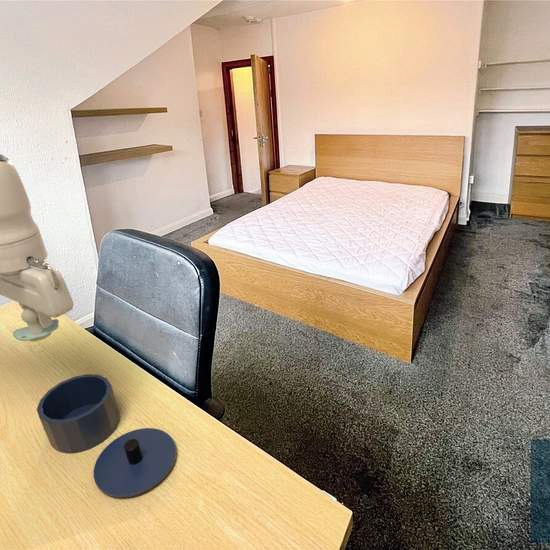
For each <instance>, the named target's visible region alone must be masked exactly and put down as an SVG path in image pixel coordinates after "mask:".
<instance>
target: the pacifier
mask: <svg viewBox="0 0 550 550" xmlns="http://www.w3.org/2000/svg"><path fill="white" fill-rule="evenodd" d="M20 318H21V320H22V321H23V323H26V324H27V326H24V327H20V328H17V329H15V330H14V331H13V332H12V336H13V338H15V339H16V340H19V341H23V342H28V341H29V342H39V341H42V340H44V339H47V338H49V337H50V336H51V334H52V333H53V332H54V331H56V330H57V329H58V328H59V327H60V326H59V325H60V324H59V323H60V321H59V319H57V318H54V319H52V321H53V324H52V325H51V326H49V327H47V328H43V327H41V326H39V324H38V322H37V318H38V313H37V312H36V311H35V309H32V308H28V309H26V310H23V311H22V312H21V316H20Z"/></svg>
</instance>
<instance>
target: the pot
mask: <svg viewBox="0 0 550 550" xmlns="http://www.w3.org/2000/svg"><path fill="white" fill-rule="evenodd" d="M36 413H37V416H38V418H39V421H40V423H41V425H42V428H43V430H44V432H45V434H46V437H47V439H48V442H49V444H50V446H51V447H52V448H53V449H54V450H55V451H57V452H60V453H63V454H77V453H81V452H86V451H88V450H91V449H93V448H95V447H96V446H98V445H100V444H102V443H103V442H105V441H106V440H107V439H108V438H110V437H111V435H112V434H113V433H114V432H115V431H116V429H117V428H118V426H119V422H120V418H121V415H120V409H119V406H118V402H117V399H116V396H115V393H114V389H113V385H112V384H111V382H110V380H109V379H108V377H105V376H103V375H101V374H95V373H85V374H81V375H76V376H72V377H70V378H67V379H65V380H62V381H60V382H59V383H57V384H56V385H54V386H52V387H51V388H50V389H49V390H47V391H46V393H45V394H44V395H43V396H42V397H41V398H40V400H39V402H38V405H37V408H36Z"/></svg>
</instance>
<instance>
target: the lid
mask: <svg viewBox="0 0 550 550" xmlns="http://www.w3.org/2000/svg"><path fill="white" fill-rule="evenodd" d="M176 457H177V447H176V443H175V441H174V439H173V437H171V435H170V434H169V433H168V432H166V431H164V430H162V429H158V428H154V427H145V428H138V429H134V430H130V431H128V432H126V433H124V434H121V435H120V436H118V437H117V438H115V439H114V440H112V441H111V442H109V443H108V444H107V446H106V447H105V448H103V450H102V451H101V453H99V455H98V457H97V459H96V461H95V464H94V467H93V479H94V483H95V485H96V487H97V488H98V490H99V491H101V492H102V493H103V494H104V495H107V496H110V497H113V498H130V497H131V498H132V497H135V496H138V495H140V494H143V493H145V492H148V491H149V490H151V489H153V488H154V487H155V486H157V485H158V484H160V483H161V482H162V481H163V480H164V479H165V478H166V477H167V475H168V474H169V473H170V471H171V469H172V468H173V466H174V463H175V462H176Z"/></svg>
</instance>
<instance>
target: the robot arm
mask: <svg viewBox="0 0 550 550" xmlns="http://www.w3.org/2000/svg"><path fill="white" fill-rule="evenodd" d="M31 207H32V206H31V202H30V199H29V195H28V193H27V191H26V189H25V186H24V183H23V181H22V179H21V176H20V174H19V172H18V171H17V169H16V166H15V165H14V164H13V162H12V161H11V160H10V159H9V158H8V157H6V156H4V155H3V154H1V153H0V296H2V297H4V298H7V299H10V300H12V301H14V302H16V303H18V305H19V306H20V308H21V309H22V310H23V311H24V310H26V309H28V308H32V309H35V311H36V312H37V313H38V318H37V322H38V324H39V326H41V327H43V328H47V327H49V326H51V325H52V324H53V321H52V320H53V319H52V318H54V319H57V318H58V317H61V316H63V315H65V314H67V313H69V312H70V311H72V310H73V308H74V301H73V298H72V295H71V293H70V290H69V288H68V285H67V283H66V281H65V279H64V276H63V275H62V274H61V272H60V271H59V270H58V269H57V268H56V267H53V266H50V264H49V262H47V261H46V259H47V258H48V252H47V249H46V246H45V243H44V241H43V238H42V234H41V231H40V228H39V226H38V225H37V223H36V221H35V220H34V219H33V216H32V213H31Z"/></svg>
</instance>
